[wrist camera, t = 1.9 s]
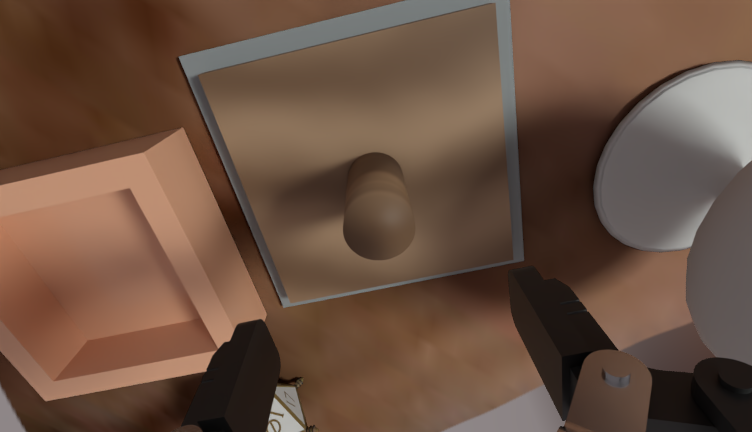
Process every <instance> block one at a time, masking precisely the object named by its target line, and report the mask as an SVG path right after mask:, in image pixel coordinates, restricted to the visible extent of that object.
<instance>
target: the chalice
mask: <svg viewBox="0 0 752 432" xmlns="http://www.w3.org/2000/svg"><path fill="white" fill-rule="evenodd" d="M593 191H594V205H595V208H596V211H597V214H598V216H599V219H600V221H601V223H602V224H603V226H604V227H605V228H606V229H607V231H608V232H609V233H610V235H611V236H613V237H614V238H616V239H617V240H619V241H620V242H622V243H623V244H625V245H627V246H630V247H633V248H636V249H639V250H642V251H652V252H669V251H680V250H684V249H688V248H691V249H690V252H689V255H688V258H687V273H686V302H687V305H688V308H689V311H690V314H691V317H692V320H693V322H694V325H695V327H696V329H697V331H698V333H699V336H700V338H701V340H702V342H703V343H704V344H705V345H706V346H707V347H708V348H709V349H710V351H711V352H712V353H713V354H714V355H715V356H716V357H720V358H729V359H734V360H738V361H741V362H744V363H747V364H749V365H751V366H752V62H749V61H742V60H735V61H724V62H714V63H711V64H707V65H704V66H701V67H698V68H695V69H692V70H689V71H686V72H684V73H682V74H680V75H679V76H677V77H675V78H673V79H671V80H669V81H667V82H665V83H663V84H662V85H660V86H659V87H658V88H656V89H655V90H654V91H653V92H651V93H650V94H649V95H647V96H646V97H645V98H644V99H642V100H641V101H640V102H639V103H638V104H637V105H636V106H635V107H634V108H633V109H632V110H631V111H630V112H629V113H628V114H627V115H626V117H625V118H624V119H623V120H622V121H621V122H620V123H619V125H618V126H617V128H616V129H615V131H614V132H613V134H612V136H611V137H610V139H609V140H608V142H607V143H606V145H605V147H604V150H603V152H602V155H601V157H600V160H599V162H598V164H597V168H596V174H595V179H594V185H593Z"/></svg>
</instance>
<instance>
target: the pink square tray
mask: <svg viewBox="0 0 752 432" xmlns="http://www.w3.org/2000/svg"><path fill="white" fill-rule="evenodd" d="M266 315H267V313H266V311H265V309H264V307H263V305H262V302H261V300H260V298H259V296H258V293H257V291H256V289H255V287H254V285H253V282H252V280H251V278H250V276H249V273H248V271H247V269H246V267H245V264H244V262H243V260H242V258H241V256H240V253H239V251H238V249H237V247H236V244H235V242H234V240H233V238H232V236H231V233H230V231H229V229H228V227H227V224H226V222H225V220H224V218H223V215H222V213H221V211H220V209H219V207H218V204H217V202H216V200H215V198H214V195H213V193H212V191H211V189H210V187H209V184H208V182H207V180H206V178H205V175H204V173H203V171H202V169H201V166H200V164H199V162H198V160H197V158H196V155H195V153H194V151H193V149H192V146H191V144H190V142H189V140H188V138H187V135H186V133H185V131H184V129H183V127H182V128H178V129H174V130H169V131H165V132H161V133H156V134H152V135H148V136H144V137H139V138H135V139H131V140H126V141H122V142H118V143H114V144H109V145H105V146H101V147H96V148H92V149H88V150H84V151H79V152H75V153H71V154H66V155H62V156H58V157H54V158H49V159H45V160H41V161H36V162H32V163H28V164H24V165H19V166H15V167H11V168H7V169H2V170H0V351H1V352H2V353H3V355H4V356H5V357H6V358H7V359H8V360H9V361H10V362H11V363H12V365H13V366H14V367H15V368H16V369H17V370H18V371H19V372H20V373H21V375H22V376H23V377H24V378H25V379H26V380H27V381H28V382H29V383H30V385H31V386H32V387H33V388H34V389H35V390H36V391H37V392H38V393H39V394H40V396H41V397H42V398H43V399H44V400H45V401H49V400H55V399H60V398H66V397H71V396H76V395H82V394H87V393H92V392H98V391H103V390H109V389H114V388H119V387H125V386H130V385H136V384H141V383H146V382H152V381H157V380H162V379H168V378H173V377H179V376H184V375H189V374H195V373H200V372H205V371H207V370H206V369H207V367H208V365H209V363H210V360H211V358H212V356H213V355H214V353H215V352H216V351H217V350H218V349H219V348H220V346H221V345H222V344H223V343H224V342H228V341H230V339H231V337H232V335H233V332H234V330H235V327H236V325H237V324H238V323H243V322H248V321H253V320H258V319H262V320H263V321H265V318H266Z"/></svg>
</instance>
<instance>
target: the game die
mask: <svg viewBox="0 0 752 432" xmlns="http://www.w3.org/2000/svg"><path fill="white" fill-rule="evenodd" d="M301 384H303V378H300V379H297V381H296V382H295V385H290V384H282V383H277V387H276V391H275V396H274V400H273V404H272V408H271V413H270V417H269V421H268V426H267V430H266V432H317V431H319V429H318V428H316V427H315V425H314V426H310V427H308V426H307V422H306V419H305V415H304V412H303V408H302V404H301V401H300V397H299V394H298V390H297V388H298V387H299V386H301Z"/></svg>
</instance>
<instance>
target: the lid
mask: <svg viewBox="0 0 752 432" xmlns="http://www.w3.org/2000/svg"><path fill="white" fill-rule="evenodd" d="M198 77H199V79H200V82H201V84H202V87H203V89H204V92H205V94H206V97H207V99H208V101H209V104H210V106H211V109H212V111H213V114H214V116H215V119H216V121H217V124H218V126H219V129H220V131H221V133H222V136H223V138H224V141H225V143H226V146H227V148H228V151H229V153H230V156H231V158H232V161H233V163H234V165H235V168H236V170H237V173H238V175H239V178H240V180H241V183H242V185H243V188H244V190H245V193H246V195H247V197H248V200H249V202H250V205H251V207H252V210H253V212H254V215H255V217H256V220H257V222H258V225H259V227H260V229H261V232H262V234H263V237H264V239H265V242H266V244H267V247H268V249H269V252H270V254H271V256H272V259H273V261H274V264H275V266H276V269H277V271H278V274H279V276H280V279H281V281H282V284H283V286H284V288H285V291H286V293H287V296H288V298H289V301H290V303H296V302H301V301H306V300H311V299H316V298H321V297H327V296H332V295H337V294H342V293H347V292H352V291H357V290H362V289H367V288H373V287H378V286H383V285H388V284H393V283H398V282H403V281H408V280H413V279H419V278H424V277H429V276H434V275H439V274H444V273H449V272H454V271H459V270H465V269H470V268H475V267H480V266H485V265H490V264H495V263H500V262H505V261H511V260H514V259H513V245H512V231H511V217H510V202H509V188H508V174H507V160H506V145H505V131H504V117H503V103H502V88H501V74H500V60H499V46H498V31H497V17H496V3H488V4H484V5H480V6H475V7H471V8H467V9H463V10H459V11H455V12H451V13H447V14H443V15H438V16H434V17H430V18H426V19H422V20H418V21H414V22H410V23H405V24H401V25H397V26H393V27H389V28H385V29H381V30H377V31H373V32H368V33H364V34H360V35H356V36H352V37H348V38H344V39H340V40H336V41H331V42H327V43H323V44H319V45H315V46H311V47H307V48H303V49H299V50H294V51H290V52H286V53H282V54H278V55H274V56H270V57H266V58H261V59H257V60H253V61H249V62H245V63H241V64H237V65H233V66H229V67H224V68H220V69H216V70H212V71H208V72H204V73H202V74H199V75H198Z"/></svg>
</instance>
